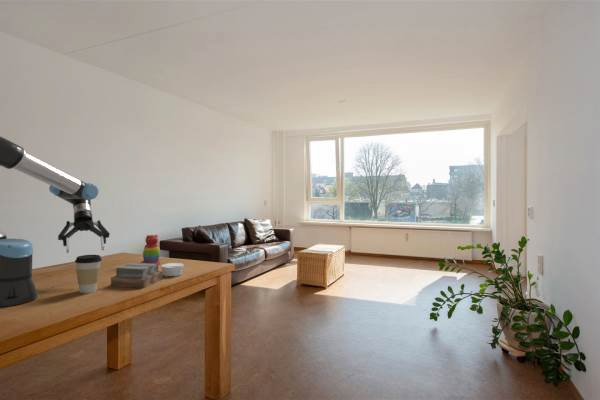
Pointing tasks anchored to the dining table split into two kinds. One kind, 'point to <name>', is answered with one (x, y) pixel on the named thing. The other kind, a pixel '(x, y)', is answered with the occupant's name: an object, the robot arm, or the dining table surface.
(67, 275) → the dining table surface
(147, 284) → the grey stacked platform
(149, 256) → the stacking bear
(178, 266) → the ramekin
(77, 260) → the coffee cup
